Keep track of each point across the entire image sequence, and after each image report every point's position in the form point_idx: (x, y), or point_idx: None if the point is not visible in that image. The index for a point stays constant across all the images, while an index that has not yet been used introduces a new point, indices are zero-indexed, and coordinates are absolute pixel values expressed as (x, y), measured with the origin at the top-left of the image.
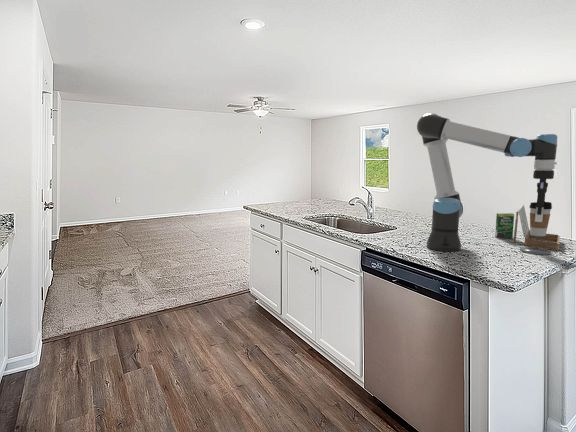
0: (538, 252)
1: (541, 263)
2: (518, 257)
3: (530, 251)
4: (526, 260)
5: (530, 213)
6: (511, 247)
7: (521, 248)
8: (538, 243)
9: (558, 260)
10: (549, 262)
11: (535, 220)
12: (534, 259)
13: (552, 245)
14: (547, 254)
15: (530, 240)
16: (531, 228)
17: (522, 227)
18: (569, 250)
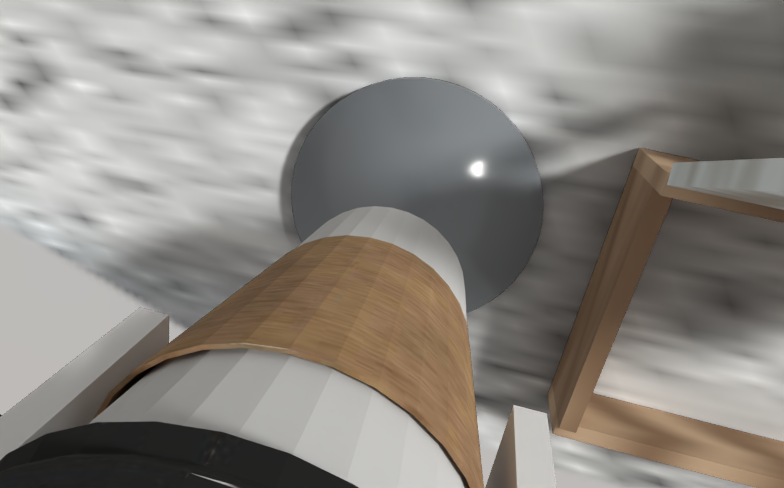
0: (327, 219)
1: (28, 176)
2: (105, 30)
3: (336, 160)
4: (45, 83)
5: (210, 336)
6: (517, 3)
7: (436, 97)
8: (604, 282)
9: (187, 303)
10: (92, 234)
11: (128, 326)
12: (116, 149)
13: (565, 379)
14: None
15: (637, 221)
16: (314, 238)
17: (737, 167)
18: (574, 463)
